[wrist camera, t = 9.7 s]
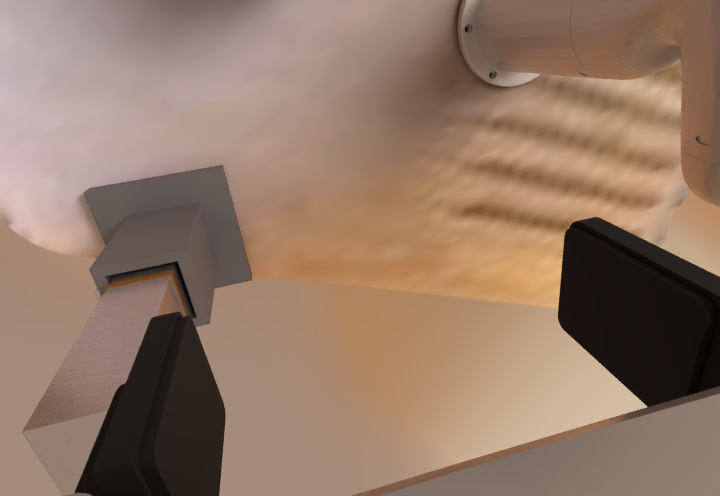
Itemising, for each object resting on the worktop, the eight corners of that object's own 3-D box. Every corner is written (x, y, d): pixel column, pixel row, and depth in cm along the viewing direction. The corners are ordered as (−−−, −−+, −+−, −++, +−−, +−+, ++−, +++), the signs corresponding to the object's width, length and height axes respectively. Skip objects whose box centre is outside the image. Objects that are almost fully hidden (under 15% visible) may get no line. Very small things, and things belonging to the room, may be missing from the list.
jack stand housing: (222, 165, 45) (214, 206, 33) (251, 274, 50) (253, 343, 38) (88, 188, 43) (27, 241, 31) (134, 299, 48) (97, 380, 36)
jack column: (182, 241, 38) (127, 404, 21) (197, 286, 40) (159, 470, 23) (126, 252, 38) (20, 431, 20) (145, 298, 40) (63, 497, 22)
